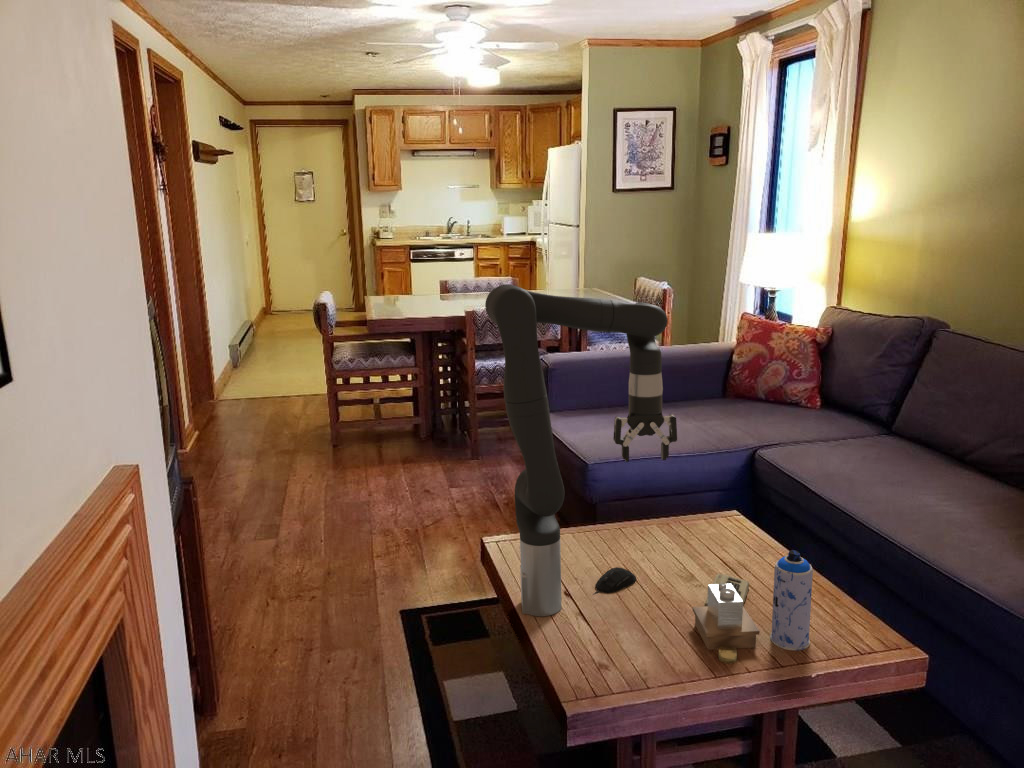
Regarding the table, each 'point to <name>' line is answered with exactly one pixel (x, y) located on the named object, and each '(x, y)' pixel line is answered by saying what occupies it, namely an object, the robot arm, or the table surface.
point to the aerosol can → (792, 602)
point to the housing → (725, 606)
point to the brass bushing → (727, 654)
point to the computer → (738, 584)
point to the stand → (725, 631)
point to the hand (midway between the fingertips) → (644, 460)
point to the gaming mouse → (615, 580)
